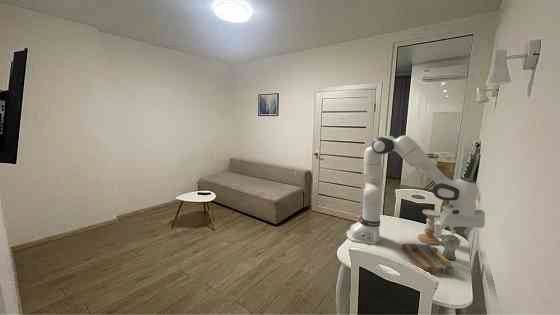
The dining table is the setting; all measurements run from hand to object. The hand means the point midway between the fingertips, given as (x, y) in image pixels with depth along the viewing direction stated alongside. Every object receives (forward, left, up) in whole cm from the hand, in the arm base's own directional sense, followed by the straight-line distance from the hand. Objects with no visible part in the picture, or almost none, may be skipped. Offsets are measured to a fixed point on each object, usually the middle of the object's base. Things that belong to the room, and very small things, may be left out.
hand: (459, 233), depth 113 cm
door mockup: (-12, +6, -21) cm, 25 cm away
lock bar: (-7, +2, -17) cm, 18 cm away
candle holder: (+3, +30, -21) cm, 37 cm away
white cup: (+12, +38, -21) cm, 46 cm away
